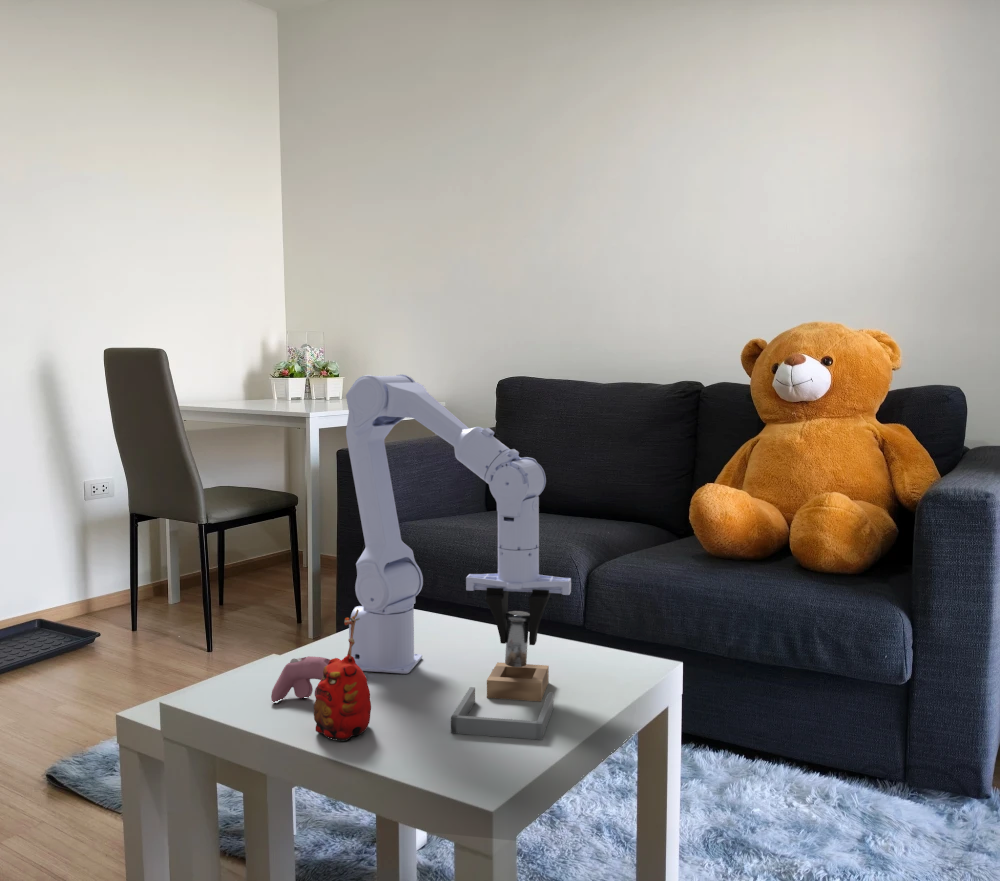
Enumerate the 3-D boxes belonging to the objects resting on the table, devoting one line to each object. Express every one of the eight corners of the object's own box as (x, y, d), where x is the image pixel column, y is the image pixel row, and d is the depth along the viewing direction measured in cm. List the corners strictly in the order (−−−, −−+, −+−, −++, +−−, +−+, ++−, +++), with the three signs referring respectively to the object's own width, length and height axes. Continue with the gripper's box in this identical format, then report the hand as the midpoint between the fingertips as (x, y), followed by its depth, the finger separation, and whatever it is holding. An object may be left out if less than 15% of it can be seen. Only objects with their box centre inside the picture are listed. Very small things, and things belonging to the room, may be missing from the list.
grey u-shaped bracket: (451, 732, 112) (450, 717, 112) (470, 701, 122) (470, 687, 122) (541, 739, 110) (541, 723, 109) (553, 707, 120) (553, 692, 120)
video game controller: (346, 714, 122) (356, 662, 124) (331, 711, 118) (342, 657, 120) (282, 706, 125) (293, 655, 127) (265, 702, 121) (277, 649, 123)
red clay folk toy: (302, 730, 113) (300, 613, 111) (348, 715, 118) (346, 602, 116) (339, 748, 107) (336, 625, 106) (385, 731, 112) (383, 613, 111)
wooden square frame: (486, 697, 124) (486, 680, 123) (497, 679, 131) (497, 662, 131) (541, 701, 122) (541, 683, 122) (548, 682, 130) (548, 665, 129)
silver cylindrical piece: (500, 665, 125) (503, 616, 124) (506, 658, 128) (508, 609, 128) (525, 669, 124) (528, 619, 123) (530, 661, 127) (533, 612, 127)
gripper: (460, 550, 122) (461, 648, 123) (566, 554, 120) (566, 654, 121) (472, 540, 129) (472, 633, 130) (572, 543, 126) (572, 638, 128)
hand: (518, 642), depth 126 cm, fingers closed on silver cylindrical piece, 3 cm apart
